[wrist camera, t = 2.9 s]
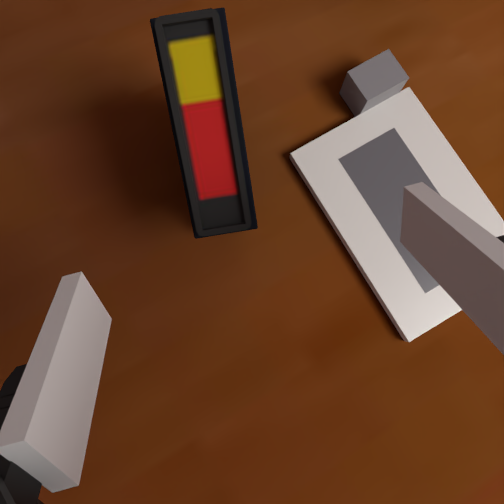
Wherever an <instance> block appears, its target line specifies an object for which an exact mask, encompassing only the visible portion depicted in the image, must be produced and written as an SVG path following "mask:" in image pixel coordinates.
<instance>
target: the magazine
mask: <svg viewBox="0 0 504 504" xmlns="http://www.w3.org/2000/svg"><path fill="white" fill-rule="evenodd" d="M150 23H151V28H152V33H153V38H154V43H155V47H156V52H157V57H158V62H159V67H160V72H161V77H162V81H163V86H164V91H165V96H166V101H167V106H168V110H169V115H170V120H171V125H172V130H173V135H174V140H175V144H176V149H177V154H178V159H179V164H180V169H181V173H182V178H183V183H184V188H185V193H186V198H187V203H188V207H189V212H190V217H191V222H192V227H193V232H194V237H195V238H202V237H208V236H214V235H221V234H227V233H233V232H239V231H245V230H251V229H257V228H258V226H257V220H256V213H255V207H254V200H253V193H252V187H251V180H250V173H249V167H248V160H247V154H246V147H245V140H244V134H243V127H242V120H241V114H240V107H239V101H238V94H237V87H236V81H235V74H234V67H233V61H232V54H231V48H230V41H229V34H228V28H227V21H226V14H225V9H224V8H217V9H211V8H210V9H204V10H197V11H191V12H184V13H178V14H172V15H165V16H160V17H158V18H153V19H150Z"/></svg>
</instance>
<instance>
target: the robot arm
mask: <svg viewBox="0 0 504 504" xmlns="http://www.w3.org/2000/svg"><path fill="white" fill-rule="evenodd" d="M400 242H401V243H402V244H403V246H404V247H405V248H406V249H407V250H408V251H409V252H410V253H411V254H412V255H413V256H414V258H415V259H416V260H417V261H418V262H419V263H420V264H421V265H422V266H423V267H424V268H425V270H426V271H427V272H428V273H429V274H430V275H431V276H432V277H433V278H434V279H435V280H436V282H437V283H438V284H439V285H440V286H441V287H442V288H443V289H444V290H445V291H446V292H447V294H448V295H449V296H450V297H451V298H452V299H453V300H454V301H455V302H456V303H457V304H458V306H459V307H460V308H461V309H462V310H463V311H464V312H465V313H466V314H467V315H468V316H469V318H470V319H471V320H472V321H473V322H474V323H475V324H476V325H477V326H478V327H479V328H480V330H481V331H482V332H483V333H484V334H485V335H486V336H487V337H488V338H489V339H490V340H491V342H492V343H493V344H494V345H495V346H496V347H497V348H498V349H499V350H500V351H501V352H502V354H503V355H504V235H502V236H498V237H495V236H494V235H492V234H491V233H490V232H488V231H487V230H486V229H484V228H483V227H482V226H480V225H479V224H478V223H476V222H475V221H474V220H472V219H471V218H470V217H468V216H467V215H466V214H464V213H463V212H462V211H460V210H459V209H458V208H456V207H455V206H454V205H452V204H451V203H450V202H448V201H447V200H446V199H444V198H443V197H442V196H440V195H439V194H438V193H436V192H435V191H434V190H432V189H431V188H430V187H428V186H427V185H426V184H424V183H423V182H420V183H416V184H412V185H408V186H405V187H404V192H403V207H402V222H401V237H400ZM111 320H112V319H111V317H110V315H109V314H108V312H107V311H106V309H105V308H104V306H103V304H102V303H101V301H100V300H99V298H98V296H97V295H96V293H95V292H94V290H93V289H92V287H91V285H90V284H89V282H88V281H87V279H86V278H85V276H84V274H83V273H82V272H78V273H74V274H70V275H66V276H63V277H62V279H61V281H60V284H59V286H58V289H57V291H56V294H55V296H54V299H53V301H52V304H51V306H50V309H49V311H48V314H47V316H46V319H45V321H44V323H43V326H42V328H41V331H40V333H39V336H38V338H37V341H36V343H35V346H34V348H33V351H32V353H31V356H30V358H29V361H28V363H27V364H25V365H21V366H18V367H16V368H15V369H14V371H13V372H12V373H11V374H10V376H9V377H8V378H7V379H6V381H5V382H4V384H3V386H2V388H1V391H0V504H44V503H42V502H41V501H40V500H39V499H38V496H39V493H40V489H41V485H43V486H44V487H46V488H47V489H48V490H50V491H51V492H52V493H53V492H57V491H61V490H64V489H68V488H71V487H75V486H79V482H80V477H81V472H82V467H83V462H84V457H85V452H86V447H87V441H88V436H89V431H90V426H91V421H92V416H93V411H94V406H95V401H96V396H97V391H98V386H99V381H100V376H101V371H102V365H103V360H104V355H105V350H106V345H107V340H108V335H109V330H110V325H111Z"/></svg>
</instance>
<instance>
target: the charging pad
mask: <svg viewBox="0 0 504 504" xmlns="http://www.w3.org/2000/svg"><path fill="white" fill-rule="evenodd" d="M408 79H409V77H408V75H407V74H406V73H405V71H404V70H403V68H402V67H401V66H400V64H399V63H398V61H397V60H396V58H395V57H394V56H393V54H392V53H391V51H390V50H389V49H388V50H386V51H384V52H382V53H380V54H379V55H377V56H375V57H373V58H371V59H369V60H368V61H366V62H364V63H362V64H360V65H359V66H357V67H355V68H353V69H351V70H349V71H348V72H347V74H346V77H345V79H344V82H343V84H342V87H341V90H340V92H339V94H340V95H341V97H342V98H343V100H344V101H345V103H346V104H347V106H348V107H349V109H350V110H351V112H352V113H353V115H354V116H355V117H354V118H352V119H351V120H349V121H347V122H345V123H344V124H342V125H340V126H338V127H336V128H335V129H333V130H331V131H329V132H327V133H326V134H324V135H322V136H320V137H318V138H317V139H315V140H313V141H311V142H309V143H308V144H306V145H304V146H302V147H301V148H299V149H297V150H295V151H293V152H292V153H290V157H289V158H290V160H291V161H292V163H293V165H294V166H295V168H296V169H297V171H298V173H299V174H300V176H301V177H302V179H303V181H304V182H305V184H306V185H307V187H308V189H309V190H310V192H311V193H312V195H313V197H314V198H315V200H316V201H317V203H318V205H319V206H320V208H321V209H322V211H323V213H324V214H325V216H326V217H327V219H328V220H329V222H330V224H331V225H332V227H333V228H334V230H335V232H336V233H337V235H338V236H339V238H340V240H341V241H342V243H343V244H344V246H345V248H346V249H347V251H348V252H349V254H350V256H351V257H352V259H353V260H354V262H355V264H356V265H357V267H358V268H359V270H360V272H361V273H362V275H363V276H364V278H365V280H366V281H367V283H368V284H369V286H370V287H371V289H372V291H373V292H374V294H375V295H376V297H377V299H378V300H379V302H380V303H381V305H382V307H383V308H384V310H385V311H386V313H387V315H388V316H389V318H390V319H391V321H392V323H393V324H394V326H395V327H396V329H397V331H398V332H399V334H400V335H401V337H402V339H403V340H404V341H407V342H410V341H412V340H413V339H415V338H417V337H418V336H420V335H421V334H423V333H425V332H426V331H428V330H430V329H431V328H433V327H435V326H436V325H438V324H439V323H441V322H443V321H444V320H446V319H448V318H449V317H451V316H453V315H454V314H456V313H457V312H459V311H461V310H462V309H461V308H460V307H459V306H458V304H457V303H456V302H455V301H454V300H453V299H452V298H451V297H450V296H449V295H448V294H447V292H446V291H445V290H444V289H443V288H442V287H441V286H440V285H439V284H438V283H437V282H436V280H435V279H434V278H433V277H432V276H431V275H430V274H429V273H428V272H427V271H426V270H425V268H424V267H423V266H422V265H421V264H420V263H419V262H418V261H417V260H416V259H415V258H414V256H413V255H412V254H411V253H410V252H409V251H408V250H407V249H406V248H405V247H404V246H403V244H402V243H401V242H400V237H401V222H402V207H403V192H404V187H405V186H408V185H412V184H416V183H420V182H423V183H424V184H426V185H427V186H428V187H430V188H431V189H432V190H434V191H435V192H436V193H438V194H439V195H440V196H442V197H443V198H444V199H446V200H447V201H448V202H450V203H451V204H452V205H454V206H455V207H456V208H458V209H459V210H460V211H462V212H463V213H464V214H466V215H467V216H468V217H470V218H471V219H472V220H474V221H475V222H476V223H478V224H479V225H480V226H482V227H483V228H484V229H486V230H487V231H488V232H490V233H491V234H492V235H494V236H495V237H498V236H502V235H504V221H503V219H502V218H501V217H500V215H499V214H498V212H497V211H496V209H495V208H494V207H493V205H492V204H491V202H490V201H489V200H488V198H487V197H486V195H485V194H484V192H483V191H482V190H481V188H480V187H479V185H478V184H477V182H476V181H475V180H474V178H473V177H472V175H471V174H470V173H469V171H468V170H467V168H466V167H465V165H464V164H463V163H462V161H461V160H460V158H459V157H458V155H457V154H456V153H455V151H454V150H453V148H452V147H451V146H450V144H449V143H448V141H447V140H446V138H445V137H444V136H443V134H442V133H441V131H440V130H439V129H438V127H437V126H436V124H435V123H434V121H433V120H432V119H431V117H430V116H429V114H428V113H427V111H426V110H425V109H424V107H423V106H422V104H421V103H420V102H419V100H418V99H417V97H416V96H415V94H414V93H413V92H412V90H411V89H410V87H408V88H406V89H404V90H403V91H401V89H402V88H403V86H404V85H405V83H406V82H407V80H408ZM400 91H401V92H400Z"/></svg>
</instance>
